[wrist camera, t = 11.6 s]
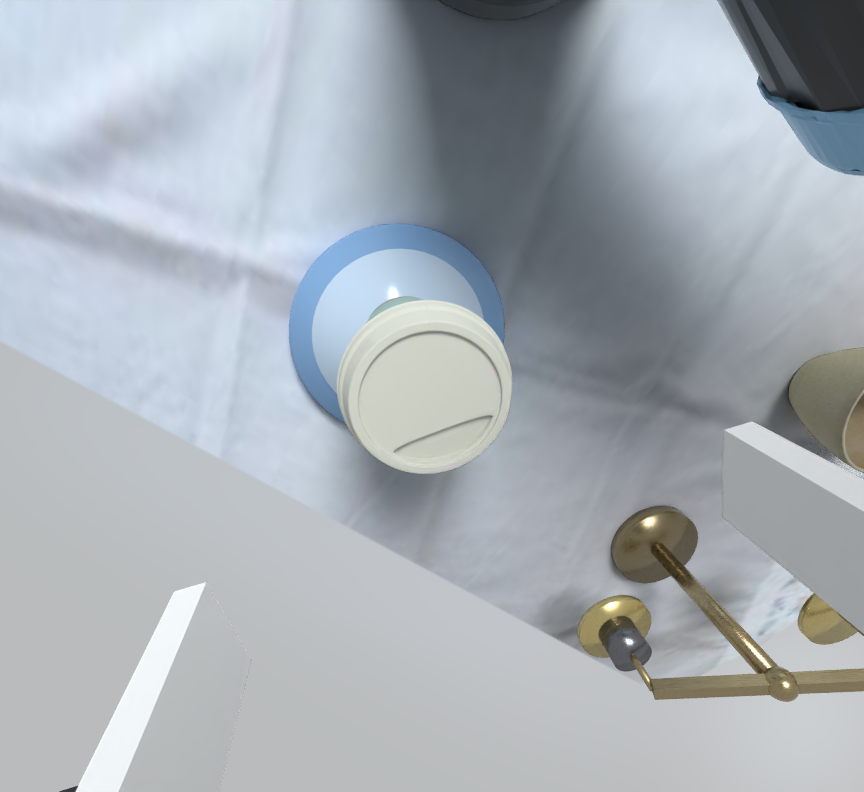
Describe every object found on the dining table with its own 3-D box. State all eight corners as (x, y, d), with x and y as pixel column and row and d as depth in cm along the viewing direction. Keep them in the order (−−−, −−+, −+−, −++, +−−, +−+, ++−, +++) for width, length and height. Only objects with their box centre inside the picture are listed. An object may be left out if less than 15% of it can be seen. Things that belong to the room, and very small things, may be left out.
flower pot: (781, 454, 42) (860, 497, 35) (746, 375, 38) (827, 408, 32) (878, 389, 41) (977, 422, 34) (851, 302, 37) (957, 320, 31)
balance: (538, 541, 41) (648, 736, 26) (755, 475, 42) (985, 624, 27) (550, 603, 44) (654, 811, 29) (751, 540, 46) (956, 708, 30)
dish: (257, 256, 29) (253, 257, 28) (479, 198, 30) (483, 197, 29) (331, 452, 35) (330, 460, 34) (515, 399, 36) (520, 405, 35)
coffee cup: (333, 384, 32) (320, 471, 21) (356, 261, 29) (354, 286, 18) (449, 404, 34) (493, 495, 23) (480, 291, 31) (548, 331, 20)
